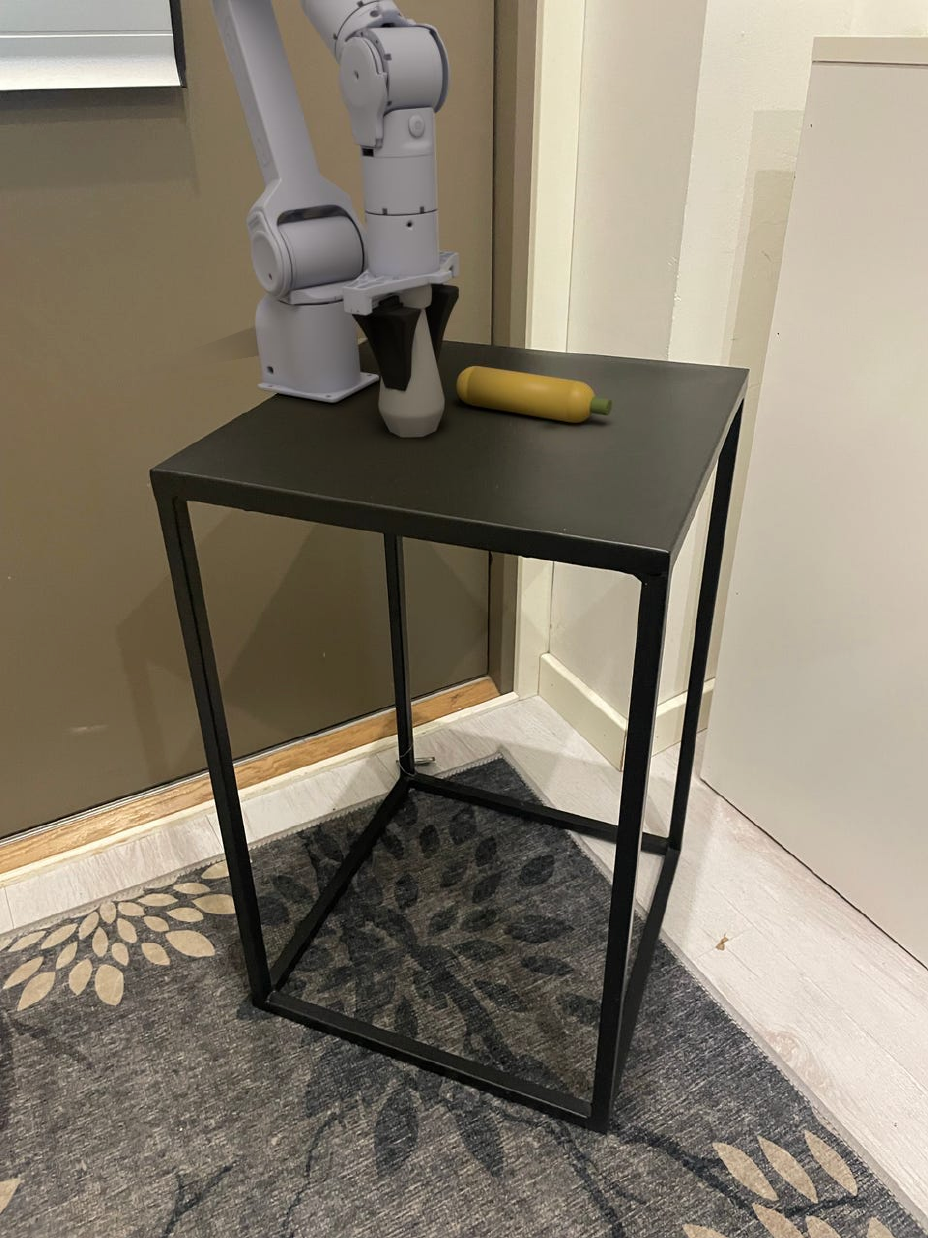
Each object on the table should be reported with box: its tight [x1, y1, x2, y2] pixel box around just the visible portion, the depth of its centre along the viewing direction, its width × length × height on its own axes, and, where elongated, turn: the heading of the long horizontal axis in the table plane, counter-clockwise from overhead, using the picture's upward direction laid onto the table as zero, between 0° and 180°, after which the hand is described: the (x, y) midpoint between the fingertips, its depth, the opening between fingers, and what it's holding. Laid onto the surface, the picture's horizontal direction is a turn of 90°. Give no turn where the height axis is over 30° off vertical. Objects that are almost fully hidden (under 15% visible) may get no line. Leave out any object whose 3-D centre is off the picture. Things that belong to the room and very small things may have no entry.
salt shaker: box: [377, 284, 446, 438], centre depth 78 cm, size 6×6×13 cm
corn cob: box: [455, 365, 613, 424], centre depth 83 cm, size 15×4×4 cm, turn 61°
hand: (410, 380), depth 79 cm, fingers closed on salt shaker, 4 cm apart
